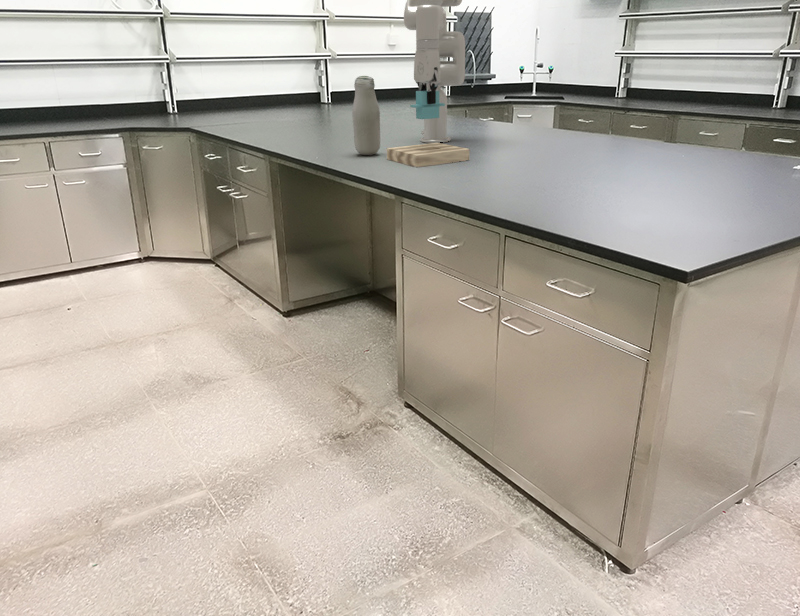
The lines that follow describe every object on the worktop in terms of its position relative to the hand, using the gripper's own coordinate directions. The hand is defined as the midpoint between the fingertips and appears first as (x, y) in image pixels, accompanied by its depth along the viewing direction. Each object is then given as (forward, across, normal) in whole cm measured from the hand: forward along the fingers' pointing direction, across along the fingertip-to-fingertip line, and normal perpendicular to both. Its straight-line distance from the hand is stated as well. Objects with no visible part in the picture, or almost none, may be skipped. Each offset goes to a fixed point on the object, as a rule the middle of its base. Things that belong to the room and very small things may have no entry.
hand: (427, 102), depth 216 cm
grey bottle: (+20, -23, -12) cm, 33 cm away
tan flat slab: (+19, 0, 0) cm, 19 cm away
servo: (+5, 0, 0) cm, 5 cm away
